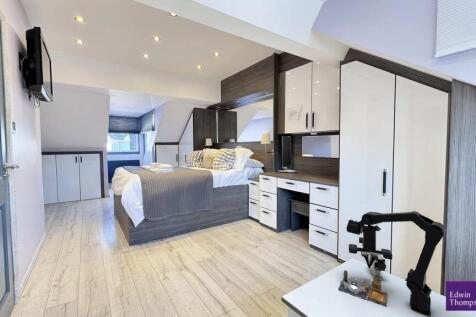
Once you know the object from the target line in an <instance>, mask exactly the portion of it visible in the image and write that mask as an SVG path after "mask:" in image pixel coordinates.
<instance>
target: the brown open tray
mask: <svg viewBox="0 0 476 317" xmlns="http://www.w3.org/2000/svg"><path fill="white" fill-rule="evenodd" d="M388 295H389V293H388V292H387V291H384V290H378V289H375V288H372V286H371V287H370V286H369V290H368V294H367V297H366V300H367V301H370V302H373V303H375V304H378V305H381V306H384V307H387V304H388V303H387V302H388V297H389V296H388Z"/></svg>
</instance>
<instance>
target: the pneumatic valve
mask: <svg viewBox="0 0 476 317" xmlns="http://www.w3.org/2000/svg"><path fill="white" fill-rule="evenodd" d="M368 259H369V261H370V253H368ZM386 269H387V265H386V259H385V258H384V257H383V255H378V259H376V260H375V261H374V262H373V264H372V266H371V272H370V273H371V274H372V275H373V277H381V272H386Z"/></svg>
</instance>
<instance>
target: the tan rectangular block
mask: <svg viewBox="0 0 476 317" xmlns="http://www.w3.org/2000/svg"><path fill="white" fill-rule="evenodd" d="M371 282H372V283H371V287H372V288H375V289H378V290H381V289H382V278H381V277H377V276H373V278H372V280H371ZM381 291H382V290H381Z"/></svg>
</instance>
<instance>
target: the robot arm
mask: <svg viewBox="0 0 476 317" xmlns="http://www.w3.org/2000/svg"><path fill="white" fill-rule="evenodd" d="M398 222H399V223H400V222H412V223H413V224H414V225H416V226H417V227H418V228H420V229H421V230H422V231H423V232H425V233H424V244H423V246H422V249H421V253H420V255H419V258H418V261H417V263H416V265H415V269H413V268H410V269H409V271H408V272H407V276H406V278H405V279H404V282H406V283H405V285H406V287H407V288H408V290H409V291H410V294H409V295H410V296H409V306H410V308H411V310H412V311H415V312H417V313H419V314H422V315H426V316H428V317H431V316H432V313H431V306H432V305H431V303H432V301H431V300H432V298H431V293H432V291H433V290H432V289H431V288H430V286H428V284H427V282H426V281H427V271H428V268H429V266H430V263H431V261H432V258H433V256H434V253H435V251H436V248H437V246H438V245H439V243H440V241H441V240H442V239H443V238H444V236H445V235H446V233H447V228H446V226H445V225H444V224H443V223H441V222H440V221H439V222H438V221H434V220H433V219H431V218H429V217H428V216H425V215H423V214H421V213H420V212H418V211H416V210H412V211H405V212H404V211H403V212H387V213H386V212H385V213H383V212H377V211H368V212H366V213H364V214H362V216H361V220H359V221H358V220H353V219H349V220H348V222H347V225H346V232H347V233H348V234H349V233H350V234H353V235H358V236H359V237H358V243H359V244H362V245H361V246H362V247H359V246H358V245H357V244H355V243H349V244H348V253H349V254H355V255H357V253H358V252H360V255H361V257H363V258H364V260H365V263H366V266H367V268H368V269H372V264H373V262H374V261H375V260H376V259H378V255H380V256H382V257H383V258H384V259H385V260H393V254H392V251H391V250H390V249H388V248H380V249H379V250H377V232H380V231H381V230H382V228H381V227H380V226H378V225H379V224H382V223H398ZM360 235H362V237H361V236H360ZM368 253H370V261H369V259H368Z"/></svg>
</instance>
